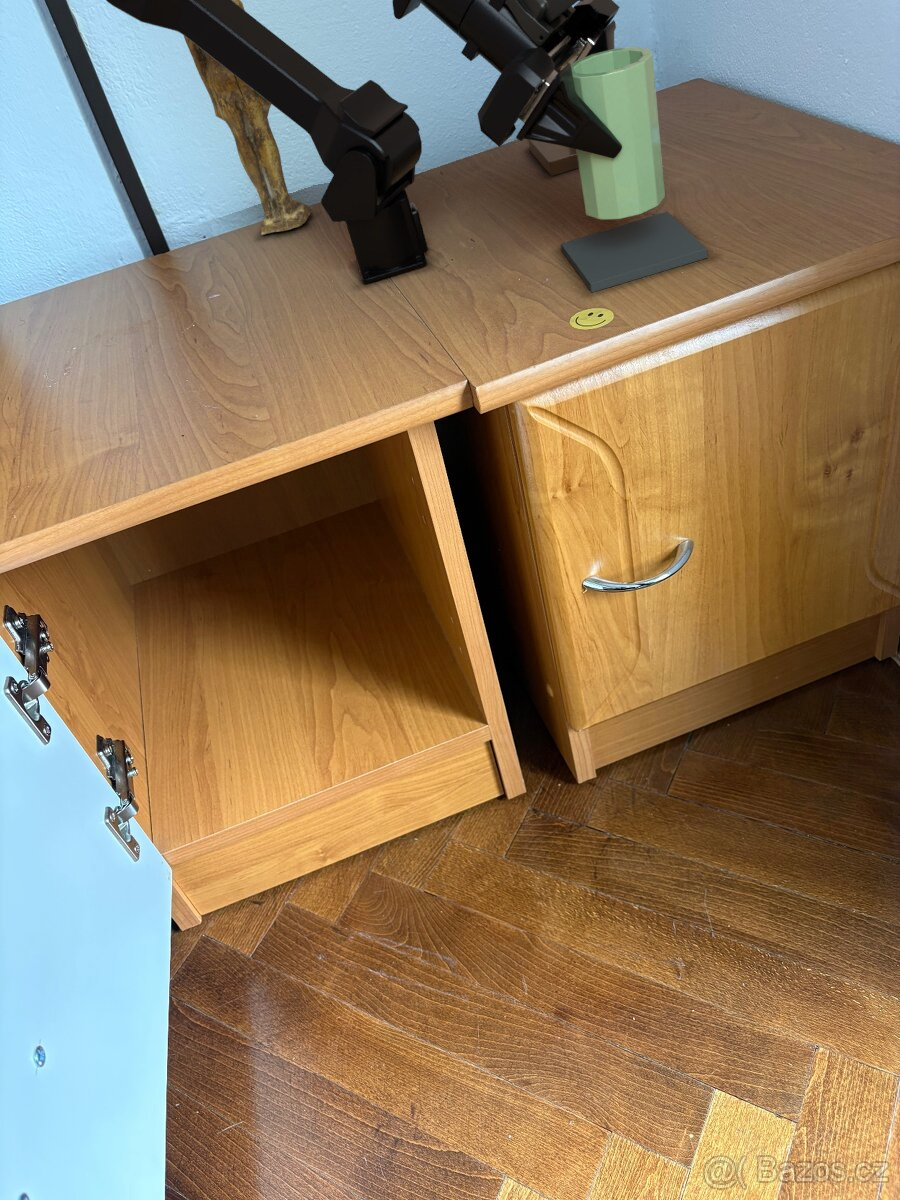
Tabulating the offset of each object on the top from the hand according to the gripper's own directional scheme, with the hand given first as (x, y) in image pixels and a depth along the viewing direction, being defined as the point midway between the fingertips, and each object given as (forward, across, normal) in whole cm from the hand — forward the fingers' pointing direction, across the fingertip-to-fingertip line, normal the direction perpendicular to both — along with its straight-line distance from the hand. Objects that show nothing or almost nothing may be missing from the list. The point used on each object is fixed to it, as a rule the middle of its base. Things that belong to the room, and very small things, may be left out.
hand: (632, 136), depth 81 cm
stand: (-4, +27, +18) cm, 32 cm away
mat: (+6, 0, +8) cm, 10 cm away
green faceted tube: (+3, 0, +5) cm, 5 cm away
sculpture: (-25, +11, +39) cm, 48 cm away
